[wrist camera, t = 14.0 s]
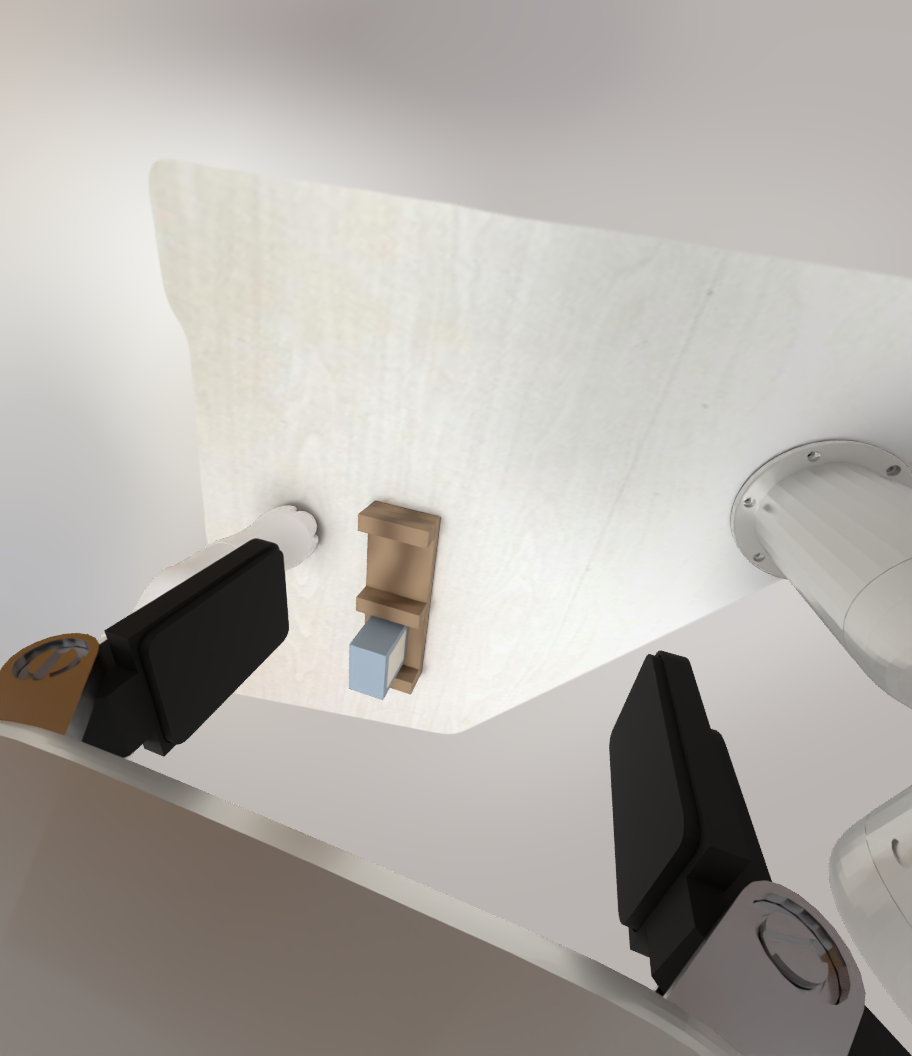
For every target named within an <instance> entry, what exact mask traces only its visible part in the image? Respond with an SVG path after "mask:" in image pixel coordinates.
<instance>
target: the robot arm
mask: <svg viewBox="0 0 912 1056" xmlns="http://www.w3.org/2000/svg"><path fill="white" fill-rule="evenodd" d="M810 452H812V454H811V455H810V456H808V454H809V453H810ZM888 468H889V469H888ZM748 498H749V500H748V501H746V502H744V501H745V500H746V499H748ZM731 529H732V535H733V538H734V540H735V542H736V544H737V546H738V548H739V549H740V551H741V552H742V553H743V555H744V556H745V557H746V558H747V559H748V560H749V561H750V562H751V563H752V564H753V565H754V566H756V567H758V568H759V569H761V570H762V571H764V572H766V573H769V574H771V575H773V576H776V577H779V578H784V579H788V580H789V581H790V582H791V583H792V585H793V586H794V587H795V588H796V590H797V591H798V592H799V593H800V594H801V595H802V597H803V598H804V599H805V601H806V602H807V603H808V604H809V605H810V607H811V608H812V609H813V610H814V612H815V613H816V614H817V615H818V616H819V618H820V619H821V620H822V621H823V623H824V624H825V625H826V626H827V627H828V629H829V630H830V631H831V632H832V634H833V635H834V636H835V637H836V639H837V640H838V641H839V642H840V644H841V645H842V646H843V647H844V648H845V650H846V651H847V652H848V653H849V654H850V656H851V657H852V658H853V659H854V660H855V661H856V663H857V664H858V665H859V666H860V667H861V669H862V670H863V671H864V672H865V673H866V674H867V676H868V677H869V678H870V679H871V680H872V681H873V682H874V683H875V684H876V685H878V687H880V688H881V689H882V690H883V691H885V692H886V693H887V694H888V695H890V696H891V697H893V698H894V699H896V700H897V701H899V702H901V703H902V704H904V705H906V706H907V707H909V708H911V709H912V472H911V471H910V469H909V468H908V467H907V465H905V464H904V463H903V462H902V461H901V460H899V459H898V458H897V457H896V456H894V455H892V454H890V453H888V452H886V451H884V450H882V449H880V448H877V447H875V446H872V445H869V444H866V443H860V442H854V441H836V440H830V441H824V442H817V443H811V444H808V445H804V446H801V447H798V448H794V449H792V450H790V451H788V452H786V453H783V454H781V455H779V456H777V457H776V458H774V459H772V460H771V461H769V462H768V463H766V464H765V465H763V466H762V467H761V468H760V469H759V470H758V471H756V472H755V473H754V474H753V475H752V476H751V477H750V478H749V479H748V481H747V482H746V483H745V484H744V486H743V487H742V488H741V490H740V492H739V494H738V496H737V497H736V499H735V502H734V505H733V509H732V512H731ZM755 554H757V555H755ZM288 631H289V621H288V608H287V594H286V581H285V567H284V555H283V552H282V551H281V550H280V549H279V546H278V545H277V544H276V543H273V542H269V541H266V540H262V539H258V538H254V539H251V540H250V541H248V542H246V543H245V544H243V545H242V546H240V547H238V548H237V549H235V550H234V551H232V552H230V553H229V554H227V555H225V556H224V557H222V558H221V559H219V560H217V561H216V562H214V563H213V564H211V565H209V566H208V567H206V568H205V569H203V570H201V571H200V572H198V573H196V574H195V575H193V576H192V577H190V578H188V579H187V580H185V581H184V582H182V583H180V584H179V585H177V586H175V587H174V588H172V589H171V590H169V591H167V592H166V593H164V594H163V595H161V596H159V597H158V598H156V599H155V600H153V601H151V602H150V603H148V604H146V605H145V606H143V607H142V608H140V609H138V610H137V611H135V612H134V613H132V614H130V615H129V616H127V617H126V618H124V619H122V620H121V621H119V622H117V623H116V624H114V625H113V626H111V627H110V628H108V629H106V630H105V634H106V637H107V640H105V641H104V642H102V643H101V644H99V643H98V641H97V640H96V638H94V637H92V636H90V635H88V634H81V633H71V634H62V635H57V636H53V637H49V638H46V639H43V640H41V641H38V642H35V643H33V644H31V645H29V646H27V647H25V648H23V649H22V650H20V651H19V652H17V653H16V654H15V655H13V656H12V657H11V658H10V659H9V660H8V661H7V662H6V663H5V664H4V665H3V667H2V668H1V670H0V1056H911V1054H910V1053H909V1052H908V1051H907V1050H906V1049H905V1048H904V1047H903V1046H902V1045H901V1044H900V1043H899V1041H898V1040H897V1039H896V1038H895V1037H894V1036H893V1035H892V1034H891V1033H890V1032H889V1031H888V1030H887V1028H886V1027H884V1025H883V1024H882V1023H881V1022H880V1021H879V1020H878V1019H877V1018H876V1017H875V1015H874V1014H873V1013H872V1012H871V1011H870V1010H869V1009H868V1008H867V1007H866V1006H865V1005H864V1003H865V990H864V985H863V982H862V977H861V973H860V971H859V969H858V967H857V964H856V962H855V960H854V958H853V956H852V954H851V952H850V950H849V948H848V947H847V946H846V944H845V943H844V941H843V940H842V938H841V937H840V936H839V934H838V933H837V931H836V930H835V928H834V927H833V926H832V925H831V924H830V923H829V922H828V921H827V920H826V919H825V918H824V916H823V915H822V914H821V913H820V912H819V911H818V910H817V909H816V908H815V907H813V906H812V905H811V904H809V902H807V901H806V900H805V899H804V898H802V897H801V896H800V895H799V894H797V893H795V892H793V891H791V890H790V889H788V888H786V887H784V886H782V885H780V884H776V883H773V882H772V880H771V877H770V875H769V872H768V869H767V866H766V863H765V860H764V857H763V854H762V851H761V848H760V845H759V842H758V839H757V836H756V833H755V830H754V827H753V824H752V821H751V818H750V815H749V812H748V809H747V807H746V803H745V801H744V798H743V794H742V792H741V789H740V786H739V783H738V780H737V777H736V774H735V772H734V768H733V765H732V762H731V759H730V756H729V753H728V750H727V747H726V744H725V742H724V739H723V737H722V735H721V734H720V733H719V732H717V731H716V730H713V729H711V728H710V725H709V722H708V719H707V716H706V712H705V709H704V706H703V703H702V700H701V696H700V693H699V690H698V687H697V683H696V680H695V677H694V674H693V671H692V667H691V664H690V662H689V660H688V659H687V658H686V657H682V656H679V655H675V654H671V653H668V652H664V651H658V652H657V653H656V655H655V656H654V655H651V654H648V655H647V656H646V658H645V660H644V662H643V665H642V667H641V669H640V671H639V673H638V676H637V678H636V680H635V682H634V684H633V687H632V689H631V691H630V693H629V695H628V698H627V700H626V702H625V704H624V706H623V708H622V711H621V713H620V715H619V717H618V719H617V722H616V724H615V726H614V728H613V730H612V733H611V737H610V745H609V749H610V750H609V751H610V767H611V768H610V769H611V788H612V804H613V805H612V806H613V824H614V842H615V860H616V879H617V895H618V896H617V897H618V912H619V918H620V922H621V923H622V924H623V925H625V926H627V927H629V940H630V949H631V950H633V951H635V952H638V953H640V954H642V955H645V956H647V957H649V958H650V966H651V976H652V977H653V979H654V980H655V982H656V983H657V986H656V987H655V989H654V990H651V989H649V988H648V987H646V986H644V985H642V984H640V983H638V982H636V981H634V980H632V979H630V978H628V977H626V976H624V975H622V974H620V973H619V972H617V971H615V970H612V969H611V968H609V967H607V966H605V965H603V964H601V963H599V962H597V961H595V960H593V959H591V958H588V957H586V956H584V955H582V954H579V953H577V952H575V951H573V950H571V949H569V948H566V947H564V946H562V945H560V944H558V943H555V942H553V941H551V940H549V939H546V938H544V937H542V936H540V935H538V934H535V933H533V932H531V931H529V930H527V929H524V928H522V927H520V926H518V925H515V924H513V923H511V922H509V921H507V920H504V919H502V918H500V917H498V916H495V915H493V914H491V913H488V912H486V911H484V910H481V909H479V908H477V907H474V906H472V905H469V904H467V903H465V902H463V901H460V900H458V899H456V898H453V897H451V896H449V895H446V894H444V893H442V892H440V891H437V890H435V889H432V888H430V887H428V886H425V885H423V884H421V883H419V882H416V881H414V880H412V879H409V878H407V877H405V876H402V875H400V874H398V873H395V872H393V871H390V870H388V869H386V868H384V867H381V866H379V865H377V864H374V863H372V862H370V861H367V860H365V859H363V858H360V857H358V856H355V855H353V854H351V853H349V852H346V851H344V850H341V849H339V848H337V847H334V846H332V845H330V844H327V843H325V842H323V841H320V840H318V839H316V838H313V837H311V836H309V835H306V834H304V833H301V832H299V831H297V830H294V829H292V828H290V827H287V826H285V825H283V824H280V823H278V822H275V821H273V820H271V819H268V818H266V817H263V816H261V815H259V814H256V813H254V812H252V811H249V810H247V809H244V808H242V807H240V806H237V805H235V804H233V803H230V802H228V801H226V800H223V799H220V798H218V797H216V796H214V795H211V794H209V793H206V792H204V791H201V790H199V789H197V788H194V787H192V786H190V785H187V784H185V783H182V782H180V781H178V780H175V779H173V778H170V777H168V776H166V775H163V774H161V773H158V772H156V771H154V770H151V769H149V768H146V767H144V766H141V765H139V764H137V763H134V762H132V758H133V754H134V751H135V750H136V749H138V748H139V747H140V746H141V745H142V744H143V746H144V748H145V749H147V750H149V751H152V752H154V753H156V754H159V755H161V756H165V755H166V754H167V753H168V752H169V751H170V750H171V749H172V748H173V747H174V746H175V745H176V744H181V743H183V742H185V741H186V740H187V739H188V738H189V737H190V736H191V735H192V734H193V733H194V732H195V731H196V730H197V729H198V728H199V727H200V726H201V725H202V724H203V723H204V722H205V721H206V720H207V719H208V718H209V717H210V716H211V715H212V714H213V713H214V712H215V710H217V708H219V707H220V706H221V705H222V703H224V701H225V700H226V699H227V698H228V697H229V696H230V695H231V694H232V693H233V692H234V691H235V690H236V689H237V688H238V687H239V686H240V685H241V684H242V683H243V682H244V681H245V680H246V679H247V678H248V677H249V676H250V675H251V674H252V673H253V672H254V671H255V670H256V669H257V668H258V667H259V666H260V665H261V664H262V663H263V662H264V661H265V660H266V659H267V658H268V657H269V656H270V654H271V653H272V652H273V651H274V650H275V649H276V648H277V647H278V646H279V645H280V644H281V643H282V642H283V641H284V640H285V638H286V637H287V634H288ZM829 882H830V888H831V891H832V894H833V898H834V901H835V904H836V907H837V910H838V912H839V914H840V916H841V919H842V921H843V923H844V925H845V927H846V928H847V931H848V933H849V934H850V936H851V938H852V940H853V942H854V943H855V945H856V946H857V948H858V950H859V951H860V953H861V955H862V956H863V958H864V959H865V961H866V963H867V964H868V966H869V967H870V969H871V970H872V971H873V973H874V974H875V976H876V977H877V979H878V980H879V981H880V983H881V984H882V986H883V987H884V988H885V990H886V991H887V993H888V994H889V995H890V996H891V997H892V999H893V1000H894V1002H895V1003H896V1004H897V1005H898V1007H899V1008H900V1009H901V1010H902V1012H903V1013H904V1014H905V1016H906V1017H907V1018H908V1019H909V1021H910V1022H911V1023H912V785H911V786H910V787H908V788H906V789H905V790H903V791H902V792H900V793H899V794H897V795H896V796H894V797H893V798H891V799H890V800H888V801H886V802H885V803H883V804H882V805H881V806H879V807H877V808H876V809H874V810H873V811H872V812H871V813H869V814H868V815H866V816H865V817H863V818H862V819H860V820H859V821H857V822H856V823H855V824H854V825H852V826H851V827H850V828H849V829H848V830H846V831H845V832H844V833H843V835H842V836H841V837H840V838H839V839H838V841H837V842H836V844H835V846H834V847H833V850H832V852H831V856H830V860H829Z"/></svg>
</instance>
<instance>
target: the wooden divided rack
mask: <svg viewBox="0 0 912 1056" xmlns="http://www.w3.org/2000/svg"><path fill="white" fill-rule="evenodd" d="M440 520H441V517H439V516H435V515H431V514H427V513H423V512H418V511H414V510H410V509H406V508H402V507H398V506H394V505H390V504H386V503H381V502H377V501H374V502H373V503H372V504H370V505H369V506H368V507H367V508H365V509H364V510H363V511H362V512H360V513H359V514H358V531H361V532H365V533H368V548H367V577H366V587H365V588H364V589H363V590H362V591H361V593H360V594H359V595H358V596H357V597H356V611H359V612H363V613H365V624H366V622H367V621H368V620H369V618H370V617H371V616H372V615H373V616H376V617H379V618H383V619H386V620H389V621H392V622H396V623H399V624H402V625H406V626H409V628H408V639H407V649H406V659H405V661H404V663H403V665H402V666H401V668H400V670H399V672H398V674H397V676H396V677H395V679H394V681H393V683H392V685H391V686H390V688H393V689H396V690H399V691H402V692H405V693H408V694H411V693H412V691H413V689H414V687H415V685H416V683H417V681H418V679H419V677H420V675H421V673H422V665H423V657H424V649H425V641H426V633H427V625H428V616H429V608H430V600H431V592H432V584H433V576H434V568H435V560H436V552H437V544H438V536H439V528H440Z"/></svg>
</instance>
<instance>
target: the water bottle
mask: <svg viewBox="0 0 912 1056" xmlns="http://www.w3.org/2000/svg"><path fill="white" fill-rule="evenodd" d="M316 530H317V524H316V520H315V519H314V517H313V516H312V515H311V514H309V513H308V512H305V511H297V507H294V506H280V507H276V508H274V509H271V510H269V511H267V512H265V513H264V514H262V515H260V516H259V517H258V519H257V520H256V521H255V522H253V523H252V524H251V525H250V526H249V527H247V528H246V529H244V530H243V531H241V532H239V533H237V534H235V535H232V536H230V537H227V538H224V539H220V540H216V541H214V542H212V543H210V544H209V545H208V546H207V547H206V548H204V549H203V550H201V551H199V552H197V553H195V554H194V555H192V556H190V557H188V558H187V559H185V560H183V561H181V562H180V563H178V564H176V565H174V566H171V567H168V568H166V569H165V570H163V571H162V572H161V573H159V574H158V575H157V576H156V577H155V578H154V579H153V580H152V581H151V582H150V584H149V585H148V587H147V588H146V589H145V591H144V593H143V594H142V596H141V597H140V599H139V601H138V602H137V604H136V606H135V608H134V609H133V611H132V613H134V612H135V611H137V610H138V609H140V608H142V607H143V606H145V605H146V604H148V603H150V602H151V601H153V600H155V599H156V598H158V597H159V596H161V595H163V594H164V593H166V592H167V591H169V590H171V589H172V588H174V587H175V586H177V585H179V584H180V583H182V582H184V581H185V580H187V579H188V578H190V577H192V576H193V575H195V574H196V573H198V572H200V571H201V570H203V569H205V568H206V567H208V566H209V565H211V564H213V563H214V562H216V561H217V560H219V559H221V558H222V557H224V556H225V555H227V554H229V553H230V552H232V551H234V550H235V549H237V548H238V547H240V546H242V545H243V544H245V543H246V542H248V541H250V540H251V539H254V538H258V539H262V540H266V541H269V542H273V543H276V544H277V545H278V546H279V549H280V550H281V551H282V552H283V555H284V567H285V571H286V570H288V569H290V568H293V567H295V566H297V565H299V564H301V563H302V562H303V561H304V560H305V559H307V558H308V557H309V556H310V555H311V554H312V552H313V551H314V549H315V548H316V546H317V543H318V536H317V535H316V534H315V532H316ZM132 613H131V614H132ZM105 640H107V637H106V634H103V635H102V636H101V638H100V639H99V640H98V643H99V644H101V643H102V642H104V641H105Z"/></svg>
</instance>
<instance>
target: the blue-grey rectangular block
mask: <svg viewBox="0 0 912 1056" xmlns="http://www.w3.org/2000/svg"><path fill="white" fill-rule="evenodd" d="M408 628H409V626H406V625H402V624H399V623H396V622H392V621H389V620H386V619H383V618H379V617H376V616H373V615H372V616H371V617H370V618H369V620H368V621H367V622H366V624H365V625H364V626H363V627H362V629H361V630H360V631H359V633H358V634H357V635H356V637H355V638H354V639H353V641H352V642H351V643H350V649H349V689H351V690H354V691H357V692H360V693H363V694H366V695H369V696H372V697H375V698H378V699H381V700H383V699H384V697H385V695H386V694H387V692H388V690H389V688H390V686H391V685H392V683H393V681H394V679H395V677H396V676H397V674H398V672H399V670H400V668H401V666H402V665H403V663H404V661H405V659H406V649H407V639H408Z"/></svg>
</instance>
